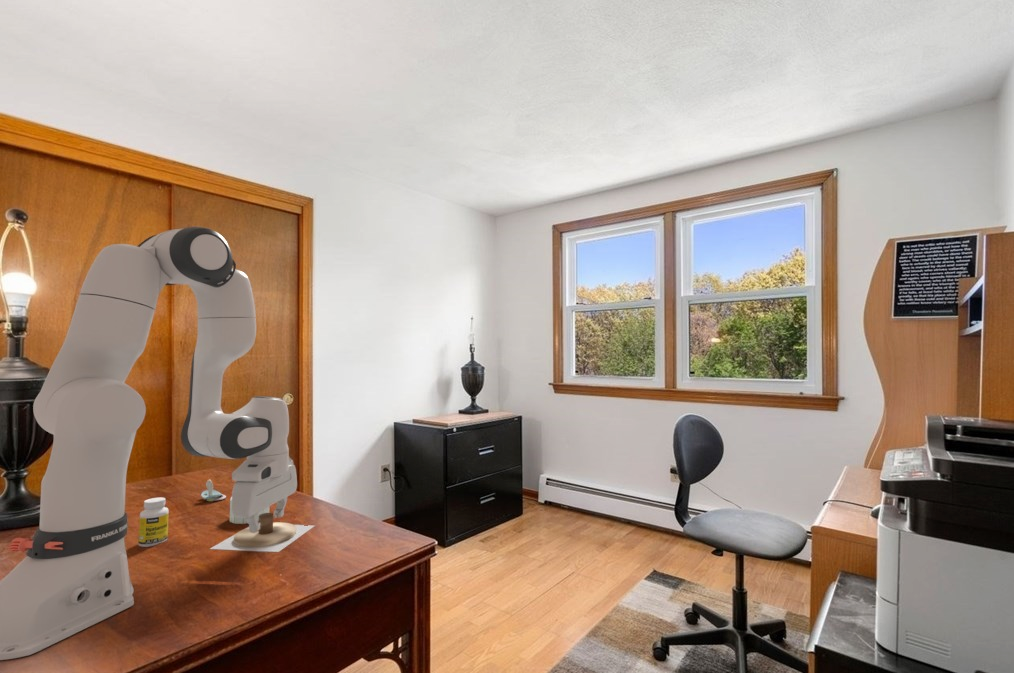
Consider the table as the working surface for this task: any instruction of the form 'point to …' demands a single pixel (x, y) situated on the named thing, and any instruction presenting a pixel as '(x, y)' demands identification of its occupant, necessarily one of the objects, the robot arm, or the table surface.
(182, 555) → the table surface
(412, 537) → the table surface
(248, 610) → the table surface
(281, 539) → the lid
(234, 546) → the mat
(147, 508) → the supplement bottle
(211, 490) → the pacifier
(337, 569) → the table surface
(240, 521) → the bowl
